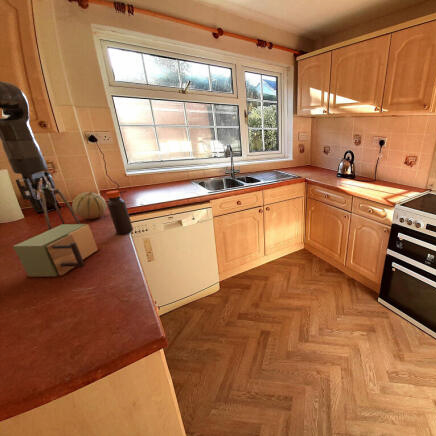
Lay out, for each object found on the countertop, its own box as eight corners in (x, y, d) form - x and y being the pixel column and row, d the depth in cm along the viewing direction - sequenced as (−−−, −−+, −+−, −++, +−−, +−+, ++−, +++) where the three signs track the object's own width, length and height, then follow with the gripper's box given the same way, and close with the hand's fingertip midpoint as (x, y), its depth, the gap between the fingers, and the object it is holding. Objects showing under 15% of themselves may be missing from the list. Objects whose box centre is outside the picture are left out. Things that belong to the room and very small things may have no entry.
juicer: (84, 233, 117) (60, 171, 106) (53, 241, 109) (24, 176, 98) (81, 228, 123) (58, 169, 112) (51, 235, 116) (24, 173, 104)
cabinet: (28, 276, 85) (12, 246, 80) (72, 250, 101) (61, 224, 97) (58, 276, 84) (44, 245, 80) (98, 250, 101) (88, 224, 96)
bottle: (127, 228, 122) (115, 189, 114) (136, 229, 119) (124, 190, 112) (113, 233, 116) (100, 193, 109) (123, 235, 114) (109, 194, 106)
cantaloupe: (84, 215, 141) (75, 190, 135) (113, 211, 145) (105, 187, 139) (72, 224, 128) (61, 197, 122) (104, 220, 132) (95, 194, 126)
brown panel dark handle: (59, 275, 84) (45, 245, 80) (81, 261, 92) (69, 233, 88) (83, 275, 84) (71, 245, 79) (103, 261, 92) (92, 233, 88)
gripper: (22, 154, 78) (42, 202, 84) (-8, 159, 65) (18, 215, 71) (52, 152, 80) (69, 199, 86) (28, 157, 68) (51, 212, 74)
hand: (46, 206), depth 79 cm, fingers open, 8 cm apart
